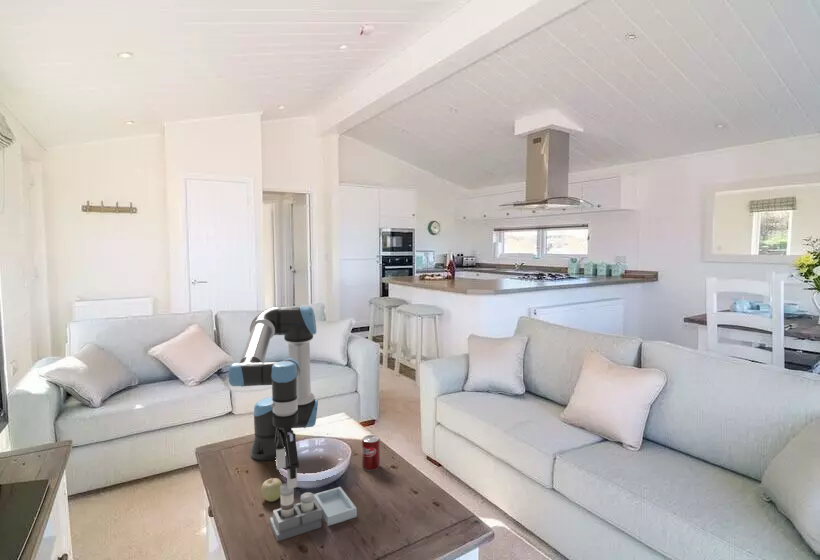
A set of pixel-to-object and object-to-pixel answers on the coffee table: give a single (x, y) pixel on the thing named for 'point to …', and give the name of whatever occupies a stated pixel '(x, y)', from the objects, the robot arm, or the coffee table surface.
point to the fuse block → (298, 518)
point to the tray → (335, 506)
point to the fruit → (271, 489)
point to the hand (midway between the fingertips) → (286, 477)
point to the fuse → (287, 501)
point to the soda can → (371, 452)
